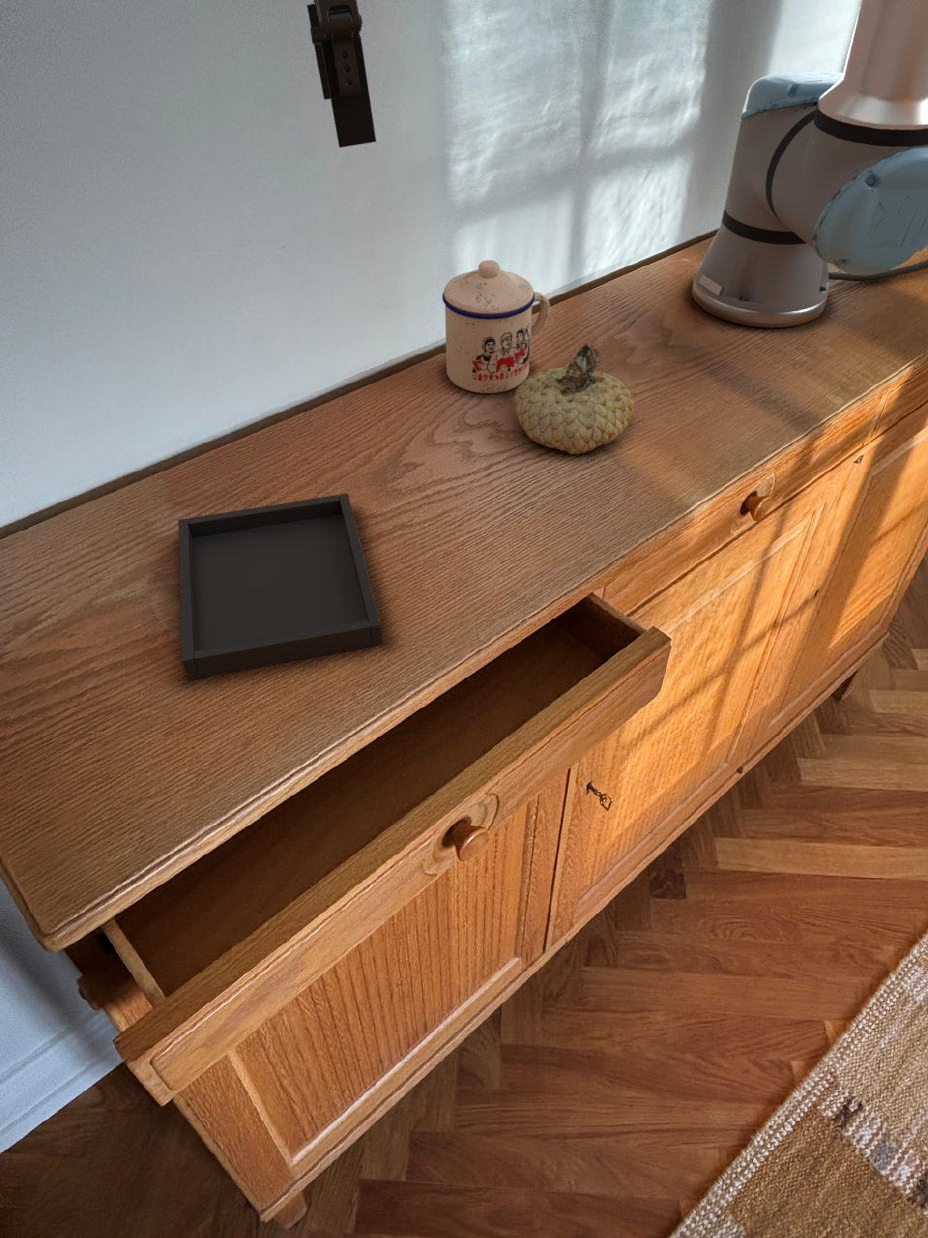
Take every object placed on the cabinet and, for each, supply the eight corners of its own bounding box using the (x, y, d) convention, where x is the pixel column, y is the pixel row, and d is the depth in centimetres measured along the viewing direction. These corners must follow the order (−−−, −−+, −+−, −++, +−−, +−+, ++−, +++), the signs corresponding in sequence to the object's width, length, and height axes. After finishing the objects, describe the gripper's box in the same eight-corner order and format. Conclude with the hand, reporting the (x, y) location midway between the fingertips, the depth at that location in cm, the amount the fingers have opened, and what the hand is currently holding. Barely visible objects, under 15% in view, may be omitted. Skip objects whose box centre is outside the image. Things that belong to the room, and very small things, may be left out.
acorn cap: (647, 459, 81) (654, 352, 81) (547, 442, 76) (554, 329, 76) (588, 472, 90) (594, 376, 90) (495, 458, 85) (501, 356, 85)
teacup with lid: (474, 405, 87) (474, 292, 79) (428, 366, 92) (424, 257, 84) (570, 372, 91) (580, 262, 83) (521, 336, 97) (525, 230, 88)
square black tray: (350, 512, 75) (347, 492, 74) (383, 644, 64) (381, 624, 63) (184, 538, 73) (177, 519, 71) (188, 680, 62) (181, 661, 60)
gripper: (223, -253, 62) (291, 86, 77) (223, -269, 44) (312, 176, 59) (327, -266, 62) (375, 73, 77) (368, -287, 45) (420, 158, 60)
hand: (348, 118), depth 68 cm, fingers open, 13 cm apart
